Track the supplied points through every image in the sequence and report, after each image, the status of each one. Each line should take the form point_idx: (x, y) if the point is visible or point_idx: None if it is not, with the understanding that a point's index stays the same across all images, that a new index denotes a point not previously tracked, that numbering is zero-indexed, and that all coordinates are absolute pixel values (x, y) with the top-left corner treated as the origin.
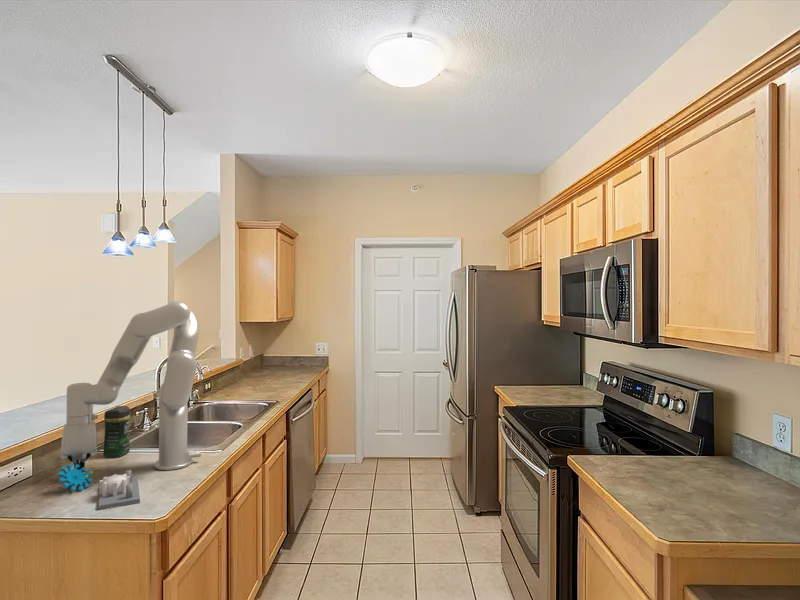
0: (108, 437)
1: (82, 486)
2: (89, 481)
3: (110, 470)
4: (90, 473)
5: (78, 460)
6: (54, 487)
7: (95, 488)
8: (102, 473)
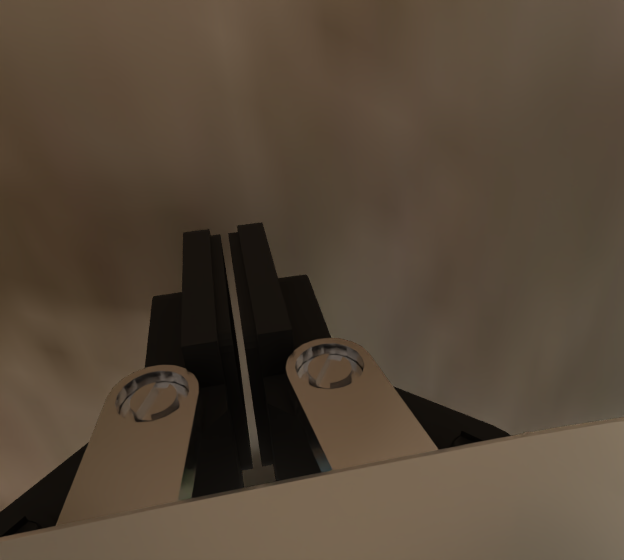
0: None
1: None
2: None
3: (602, 81)
4: None
5: (229, 418)
6: (34, 477)
7: None
8: (495, 179)
